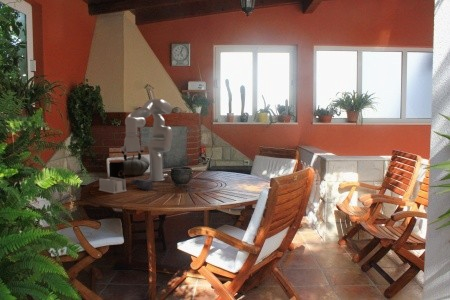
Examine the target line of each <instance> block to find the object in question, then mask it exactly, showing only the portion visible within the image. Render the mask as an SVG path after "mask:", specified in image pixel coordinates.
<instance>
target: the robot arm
mask: <svg viewBox="0 0 450 300" xmlns="http://www.w3.org/2000/svg"><path fill="white" fill-rule="evenodd" d="M172 110H173V107H172V105H171V104H170V102H168V101H166V100H165V99H162V98H150V99H148V100H147V101H146V102H145V103H144V104H143V105H142V106H141V107H140V108H138V109H135V110H133V111H132V112H130V113H129V114H128V115H127V116H126V118H125V120H124V124H125V137H124V142H123V143H124V144H123V146H121V147H120V148H119V151H120V153H121V154H122V155H123V160H125V161H127V158H128V156H127V154H128V153H133V152H137V153H138V154H137V157H138V159H139V160H140V158H141V156H142V154H143V153H144V150H145V147H144V146H142V145H140V144H141V143H140V139H139V136H140V133H139V132H138V128H144V127H145V125H146V123H147V121H146V118H149V117H151V115H152V117H153V125H152V131H151V136H152V137H153V139H150V140H149V141H148V142H147V148H148V152H149V163H150V165H149V178H148V179H147V180H149V181H152V182H162V181H165V178H166V177H168V173H163V157H162V154H161V153H167V152H170V150H171V147H172V141H173V135H174V134H173V129H172V127H170V126H168V125H167V126H166V124H165V123H166V122H165V118H164V117H163V115H170V114H171V113H172V112H173V111H172ZM123 150H124V151H123ZM164 177H165V178H164Z"/></svg>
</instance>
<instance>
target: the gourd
mask: <svg viewBox="0 0 450 300" xmlns="http://www.w3.org/2000/svg"><path fill="white" fill-rule="evenodd" d="M123 160H124V159H123ZM123 163H124V176H131V177H132V176H141V175H143V174H145V173H146V172H147V171H148V170H149V169H150V159H148V158H147V157H145V156H143V155H141V158H140V160H139V159H138V156H135V154H133V155H132V156H130V157H127V161H125V160H124V162H123Z"/></svg>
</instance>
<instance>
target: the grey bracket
mask: <svg viewBox="0 0 450 300" xmlns="http://www.w3.org/2000/svg"><path fill="white" fill-rule="evenodd" d="M130 182H131V185H134V184H136V188H137V189H140V188H141V190H146V191H152V190H153V181H149V180H148V179H142V178H138V179H132V180H131V181H130Z"/></svg>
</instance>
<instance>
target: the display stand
mask: <svg viewBox="0 0 450 300" xmlns="http://www.w3.org/2000/svg"><path fill="white" fill-rule="evenodd" d="M98 180H99V182H98V183H99V188H98V191H101V192H105V193H109V194H119V193H124V192H127V190H128V189H127V188H126V187H127V186H126V185H127V184H126V181H127V180H126V178H125V179H120V178H115V177H110V176H109V178H99V179H98Z"/></svg>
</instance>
